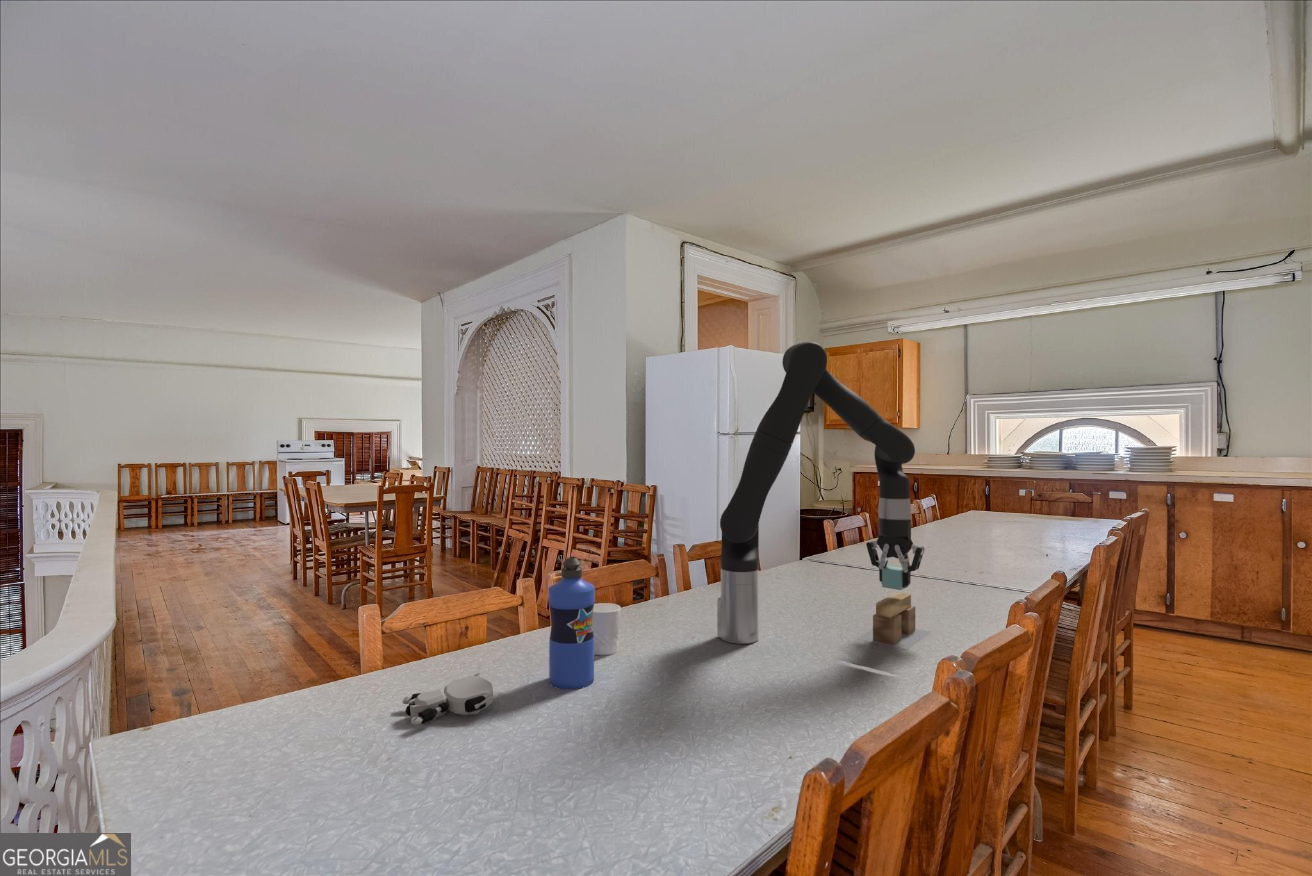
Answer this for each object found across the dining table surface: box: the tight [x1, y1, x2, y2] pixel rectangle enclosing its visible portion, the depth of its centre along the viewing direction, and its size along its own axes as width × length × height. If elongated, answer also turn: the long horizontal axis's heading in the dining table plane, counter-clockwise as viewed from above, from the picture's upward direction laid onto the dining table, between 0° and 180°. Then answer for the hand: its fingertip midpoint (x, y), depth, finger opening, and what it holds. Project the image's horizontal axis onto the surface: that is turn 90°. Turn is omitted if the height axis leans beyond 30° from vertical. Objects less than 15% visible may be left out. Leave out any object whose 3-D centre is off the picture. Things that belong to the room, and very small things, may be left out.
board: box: [856, 627, 932, 651], centre depth 154 cm, size 12×18×1 cm, turn 139°
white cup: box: [592, 602, 622, 656], centre depth 145 cm, size 8×8×10 cm
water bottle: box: [548, 556, 596, 690], centre depth 127 cm, size 9×9×25 cm
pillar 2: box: [899, 605, 916, 635], centre depth 157 cm, size 5×5×6 cm
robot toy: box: [402, 672, 499, 725], centre depth 112 cm, size 12×4×15 cm
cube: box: [881, 565, 905, 591], centre depth 154 cm, size 4×4×4 cm
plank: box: [875, 592, 912, 618], centre depth 154 cm, size 4×14×3 cm, turn 139°
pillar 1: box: [872, 613, 901, 645], centre depth 150 cm, size 5×5×6 cm
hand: (894, 585), depth 154 cm, fingers closed on cube, 4 cm apart
